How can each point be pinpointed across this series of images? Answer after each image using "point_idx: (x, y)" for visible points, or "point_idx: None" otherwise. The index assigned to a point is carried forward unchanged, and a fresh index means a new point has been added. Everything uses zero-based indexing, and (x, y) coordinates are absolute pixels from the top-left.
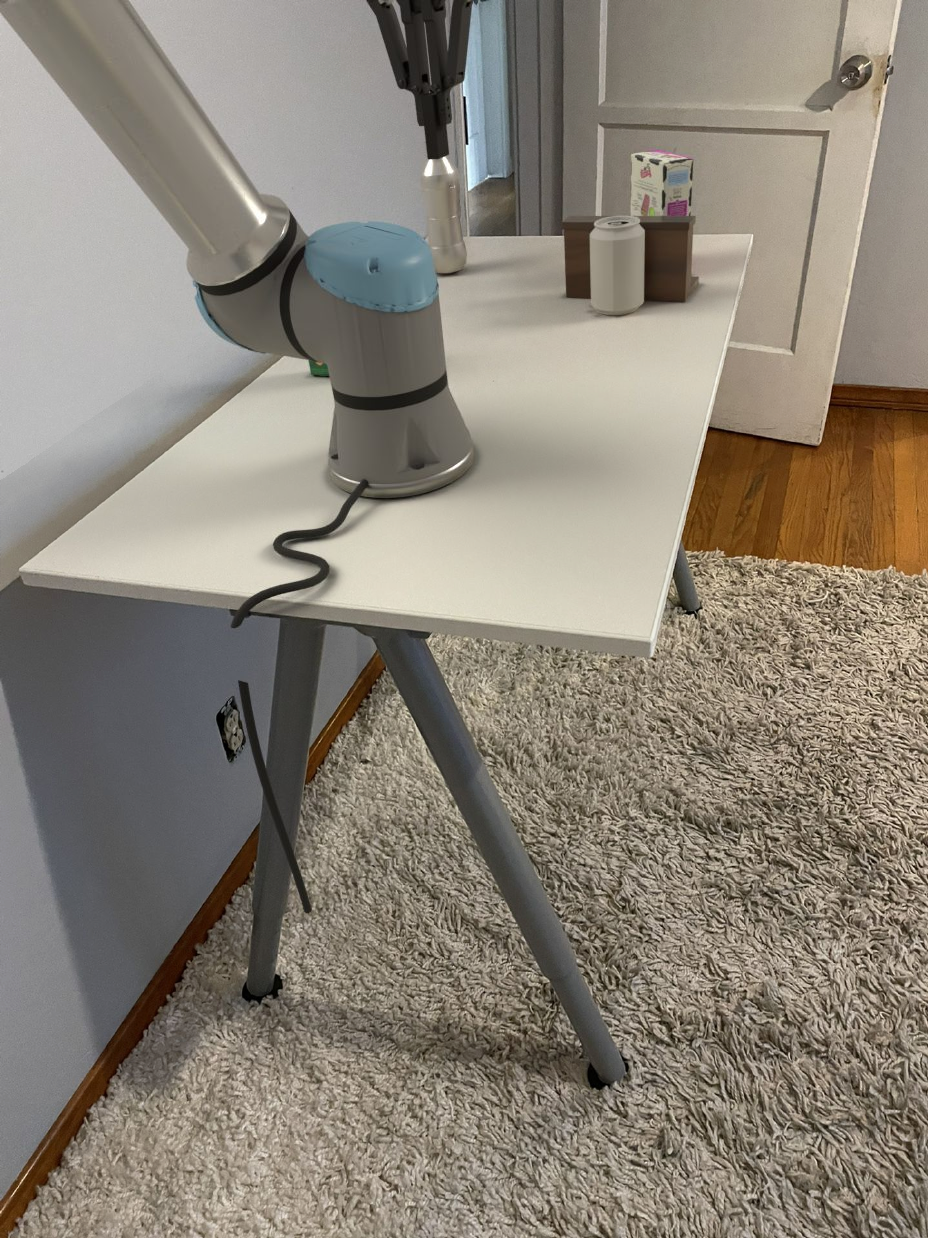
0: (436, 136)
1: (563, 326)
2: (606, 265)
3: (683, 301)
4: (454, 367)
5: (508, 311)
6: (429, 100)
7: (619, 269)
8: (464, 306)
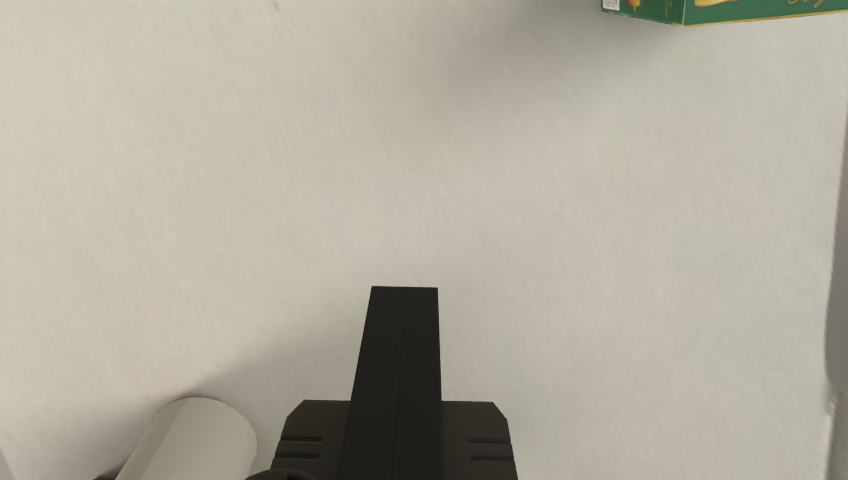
0: (363, 339)
1: (272, 332)
2: (168, 459)
3: (97, 478)
4: (404, 71)
5: None
6: (366, 471)
7: (142, 455)
8: (541, 415)
